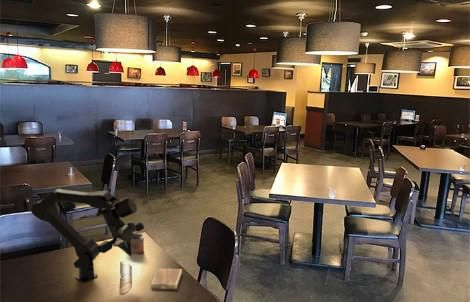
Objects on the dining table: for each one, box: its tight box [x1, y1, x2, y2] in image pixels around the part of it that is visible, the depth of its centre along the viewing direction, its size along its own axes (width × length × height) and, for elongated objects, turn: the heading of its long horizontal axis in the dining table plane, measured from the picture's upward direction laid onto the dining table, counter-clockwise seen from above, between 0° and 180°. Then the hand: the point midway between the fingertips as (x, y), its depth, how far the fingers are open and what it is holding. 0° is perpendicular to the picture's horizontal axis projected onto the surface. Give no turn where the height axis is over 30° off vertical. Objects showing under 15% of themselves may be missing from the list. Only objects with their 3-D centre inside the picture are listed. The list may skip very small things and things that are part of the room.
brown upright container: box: [131, 231, 145, 256], centre depth 173 cm, size 8×3×10 cm, turn 76°
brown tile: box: [150, 268, 183, 290], centre depth 150 cm, size 3×12×10 cm
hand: (130, 255), depth 148 cm, fingers closed
